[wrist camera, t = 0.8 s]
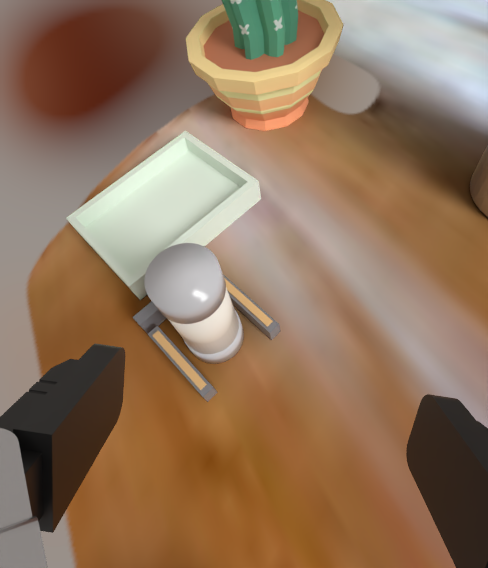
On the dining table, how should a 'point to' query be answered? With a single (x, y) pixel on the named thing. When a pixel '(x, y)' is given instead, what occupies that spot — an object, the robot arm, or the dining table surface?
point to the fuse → (195, 301)
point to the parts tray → (164, 207)
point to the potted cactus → (264, 56)
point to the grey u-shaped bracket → (150, 321)
